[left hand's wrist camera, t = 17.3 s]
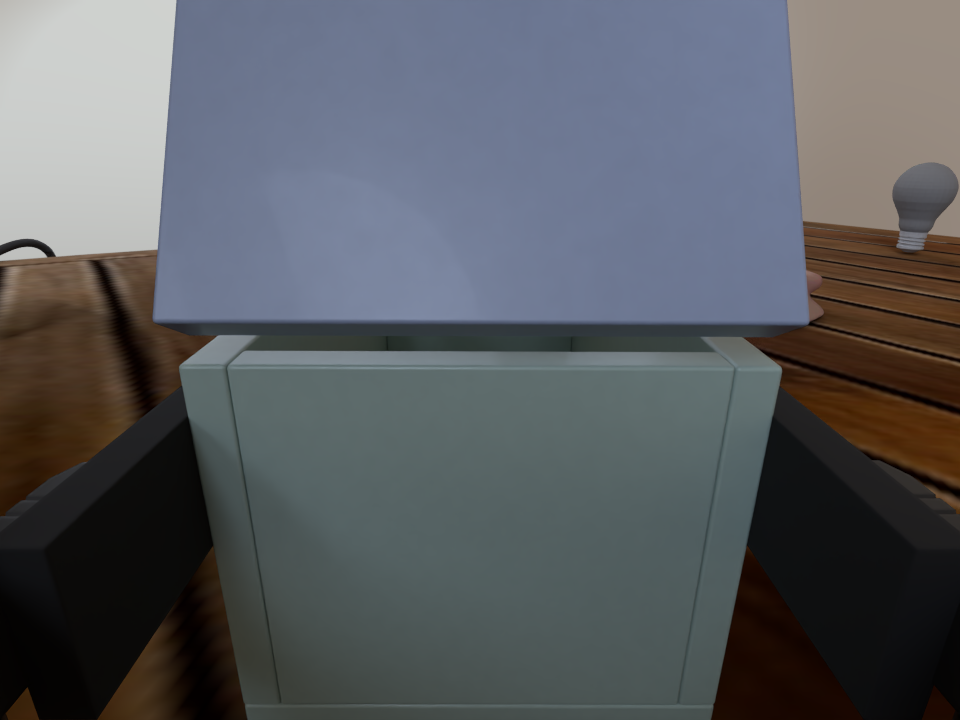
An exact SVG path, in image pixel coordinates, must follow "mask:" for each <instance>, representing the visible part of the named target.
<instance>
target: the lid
mask: <svg viewBox="0 0 960 720" xmlns="http://www.w3.org/2000/svg"><path fill="white" fill-rule="evenodd" d="M809 321H810V319H809V305H808V291H807V277H806V263H805V249H804V235H803V220H802V206H801V192H800V178H799V164H798V150H797V136H796V122H795V107H794V93H793V79H792V65H791V51H790V37H789V23H788V8H787V0H177V3H176V16H175V29H174V42H173V55H172V69H171V82H170V95H169V109H168V122H167V135H166V148H165V161H164V174H163V187H162V201H161V214H160V227H159V240H158V254H157V267H156V280H155V293H154V306H153V322H154V323H156V324H158V325H161V326H164V327H167V328H170V329H173V330H176V331H178V332H181V333H184V334H187V335H276V336H592V337H774V336H777V335H780V334H783V333H786V332H789V331H792V330H795V329H798V328H801V327H804V326H806V325H808V324H809Z"/></svg>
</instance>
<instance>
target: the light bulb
mask: <svg viewBox="0 0 960 720" xmlns="http://www.w3.org/2000/svg"><path fill="white" fill-rule="evenodd" d="M957 192H958V180H957V177H956V175H955V174H954V173H953V171H952V170H951V169H950V168H948V167H947V166H945V165H942V164H938V163H924V164H919V165H916V166H914V167H912V168H910V169H908V170H907V171H906V172H904V173H903V174H902V175H901V176H900V177H899V179H898V180H897V181H896V183H895V185H894V187H893V201H894V204H895V207H896V209H897V212H898V215H899V228H900V234H899V235H900V236H901V237H899V239H900V240H898V242H899V243H898V244H897V246H896V247H897V248H899V249H901V250H902V251H904V252H917V251H919V250H922V249H924V247H922V246H923V245H925V244H923V242H925V241H924V238H926V237H927V234H928V232H929V231H930V230H931V229H932V227H933V225H934V222H935V220H936V219H937V218H938V217H939V215H940V214H941V213H942V212H943V211H944V210H945V209H946V208H947V207H948V206H949V205H950V204H951V203H952V201H953V200H954V198H955V196H956V194H957Z"/></svg>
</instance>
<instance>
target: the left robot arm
mask: <svg viewBox="0 0 960 720" xmlns="http://www.w3.org/2000/svg"><path fill="white" fill-rule="evenodd" d="M21 247H35V248H38V249H40V250H41V251H43V252H44V253H45V255H46V256H47V257H56V255H55V253H54V252H53V251H52V249H51V248H50V247H49V246H47V245H46V244H44V243H42V242H40V241H38V240H34V239H20V240H15V241H12V242H9V243H6V244H3V245H0V255H2V254H4V253H6V252H9V251H11V250H14V249H17V248H21ZM747 545H748V547H749V548H750V550H751V551H752V553H753V554H754V556H755V557H756V559H757V560H758V562H759V563H760V565H761V566H762V568H763V569H764V571H765V572H766V574H767V575H768V577H769V578H770V580H771V581H772V583H773V584H774V586H775V587H776V589H777V590H778V592H779V593H780V595H781V596H782V598H783V599H784V601H785V602H786V604H787V605H788V607H789V608H790V610H791V611H792V613H793V614H794V616H795V617H796V619H797V620H798V622H799V623H800V625H801V626H802V628H803V629H804V631H805V632H806V634H807V635H808V637H809V638H810V640H811V641H812V643H813V644H814V646H815V647H816V649H817V650H818V652H819V653H820V655H821V656H822V658H823V659H824V661H825V662H826V664H827V665H828V667H829V668H830V670H831V671H832V673H833V674H834V676H835V677H836V679H837V680H838V682H839V683H840V685H841V686H842V688H843V689H844V691H845V692H846V694H847V695H848V697H849V698H850V700H851V701H852V703H853V704H854V706H855V707H856V709H857V710H858V712H859V713H860V715H861V716H862V718H863V719H864V720H922V717H923V714H924V711H925V708H926V706H927V703H928V700H929V697H930V694H931V692H932V689H933V686H934V685H935V686H936V687H937V689H938V690H939V691H940V692H941V693H942V695H943V696H944V697H945V698H946V699H947V700H948V702H949V703H950V704H951V705H952V706H953V708H954V709H955V710H956V711H955V713H954V716H953V719H952V720H960V514H956V510H955V509H953V508H952V507H951V506H950V505H948V504H947V503H946V502H944V501H943V500H942V499H940V498H936V497H935V494H934V493H933V492H931V491H930V490H929V489H927V488H926V487H925V486H924V485H922V484H921V483H920V482H918V481H917V480H916V479H914V478H913V477H912V476H910V475H908V474H906V473H904V472H902V471H900V470H898V469H896V468H894V467H891V466H889V465H887V464H885V463H883V462H881V461H879V460H871V459H869V458H868V457H867V456H866V455H864V454H863V453H862V452H861V451H859V450H858V449H857V448H856V447H854V446H853V445H852V444H851V443H849V442H848V441H847V440H846V439H844V438H843V437H842V436H841V435H839V434H838V433H837V432H836V431H835V430H833V429H832V428H831V427H830V426H828V425H827V424H826V423H825V422H823V421H822V420H821V419H820V418H818V417H817V416H816V415H815V414H813V413H812V412H811V411H810V410H808V409H807V408H806V407H805V406H803V405H802V404H801V403H800V402H798V401H797V400H796V399H795V398H794V397H792V396H791V395H790V394H789V393H787V392H786V391H785V390H784V389H782V388H781V387H780V386H779V389H778V394H777V399H776V404H775V409H774V414H773V417H772V422H771V427H770V432H769V437H768V442H767V447H766V452H765V457H764V462H763V467H762V472H761V477H760V482H759V487H758V492H757V497H756V502H755V507H754V512H753V517H752V522H751V527H750V531H749V536H748V541H747ZM212 546H213V541H212V536H211V531H210V526H209V521H208V516H207V511H206V505H205V500H204V495H203V490H202V485H201V480H200V475H199V469H198V464H197V459H196V454H195V449H194V444H193V439H192V433H191V428H190V423H189V418H188V413H187V408H186V402H185V397H184V392H183V387H182V386H181V387H180V388H178V389H177V390H176V391H175V392H173V393H172V394H171V395H170V396H168V397H167V398H166V399H165V400H163V401H162V402H161V403H160V404H158V405H157V406H156V407H155V408H154V409H152V410H151V411H150V412H149V413H147V414H146V415H145V416H144V417H142V418H141V419H140V420H139V421H137V422H136V423H135V424H134V425H132V426H131V427H130V428H129V429H127V430H126V431H125V432H124V433H122V434H121V435H120V436H119V437H118V438H116V439H115V440H114V441H113V442H111V443H110V444H109V445H108V446H106V447H105V448H104V449H103V450H101V451H100V452H99V453H98V454H96V455H95V456H94V457H93V458H91V459H90V460H89V461H88V462H82V463H80V464H78V465H76V466H74V467H72V468H70V469H68V470H66V471H64V472H62V473H60V474H58V475H56V476H54V477H52V478H50V479H48V480H47V481H46V482H45V483H43V484H42V485H41V486H39V487H38V488H37V489H36V490H34V491H33V492H32V493H30V494H29V495H28V496H27V497H26V500H25V501H20V502H19V503H17V504H16V505H15V506H14V507H12V508H11V509H10V510H8V511H7V512H6V516H5V517H0V720H8V719H7V716H6V712H7V711H8V710H9V708H10V707H11V706H12V705H13V704H14V702H15V701H16V700H17V699H18V698H19V696H20V695H21V694H22V693H23V692H24V690H25V689H26V688H27V687H28V689H29V692H30V695H31V697H32V700H33V703H34V706H35V709H36V711H37V714H38V717H39V720H97V719H98V717H99V716H100V714H101V713H102V711H103V710H104V708H105V707H106V705H107V704H108V702H109V701H110V699H111V698H112V696H113V695H114V693H115V692H116V690H117V689H118V687H119V686H120V684H121V683H122V681H123V680H124V678H125V677H126V675H127V674H128V672H129V671H130V669H131V668H132V666H133V665H134V663H135V662H136V660H137V659H138V657H139V656H140V654H141V653H142V651H143V650H144V648H145V647H146V645H147V644H148V642H149V641H150V639H151V638H152V636H153V635H154V633H155V632H156V630H157V629H158V627H159V626H160V624H161V623H162V621H163V620H164V618H165V617H166V615H167V614H168V612H169V611H170V609H171V608H172V606H173V605H174V603H175V602H176V600H177V599H178V597H179V596H180V594H181V593H182V591H183V590H184V588H185V587H186V585H187V584H188V582H189V581H190V579H191V578H192V576H193V575H194V573H195V572H196V570H197V569H198V567H199V566H200V564H201V563H202V561H203V560H204V558H205V557H206V555H207V554H208V552H209V551H210V549H211V548H212Z"/></svg>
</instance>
